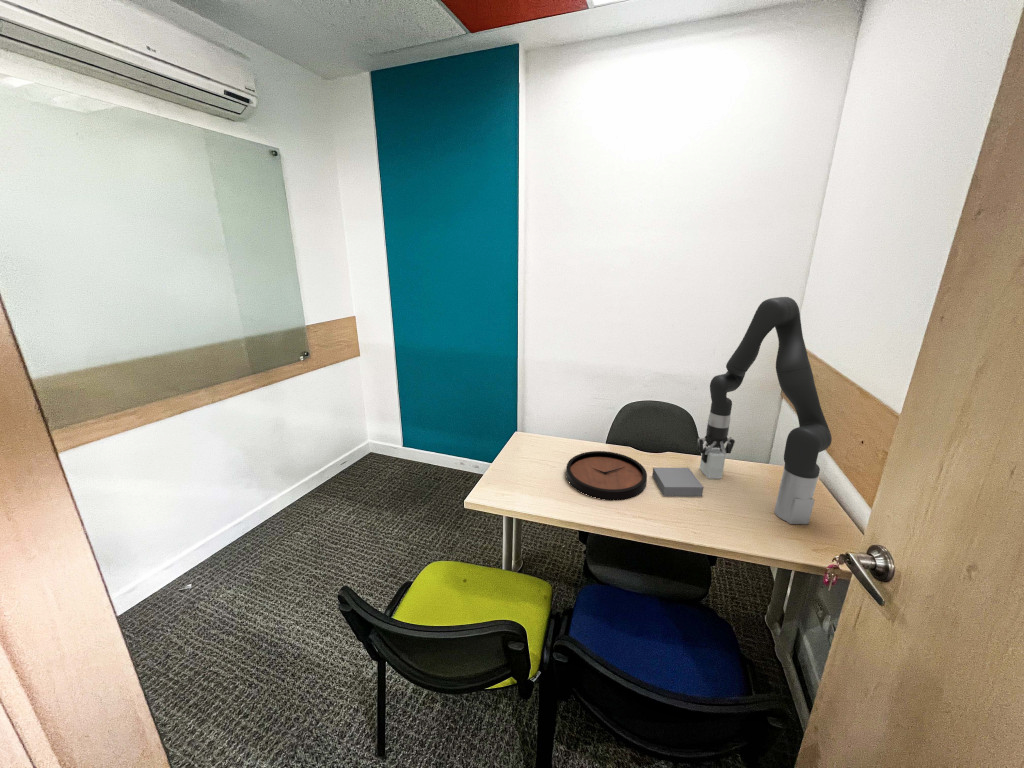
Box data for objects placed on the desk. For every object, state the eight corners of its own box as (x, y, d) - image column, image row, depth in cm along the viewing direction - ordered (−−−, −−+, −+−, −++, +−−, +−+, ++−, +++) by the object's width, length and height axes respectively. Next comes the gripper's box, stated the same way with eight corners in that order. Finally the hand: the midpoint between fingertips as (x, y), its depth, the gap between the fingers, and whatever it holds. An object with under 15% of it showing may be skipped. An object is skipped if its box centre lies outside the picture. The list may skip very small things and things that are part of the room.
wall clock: (567, 489, 146) (565, 449, 175) (567, 499, 147) (565, 457, 176) (655, 493, 142) (638, 452, 172) (654, 503, 144) (637, 460, 173)
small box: (722, 479, 157) (726, 455, 154) (707, 479, 158) (711, 455, 154) (712, 468, 165) (716, 446, 162) (699, 468, 165) (702, 446, 162)
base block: (702, 496, 146) (703, 487, 145) (663, 496, 147) (664, 487, 146) (687, 476, 160) (688, 467, 159) (652, 476, 160) (653, 467, 159)
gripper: (703, 427, 151) (698, 466, 156) (742, 427, 151) (735, 466, 156) (695, 419, 158) (690, 457, 163) (732, 419, 158) (726, 457, 163)
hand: (712, 461), depth 160 cm, fingers closed on small box, 5 cm apart
